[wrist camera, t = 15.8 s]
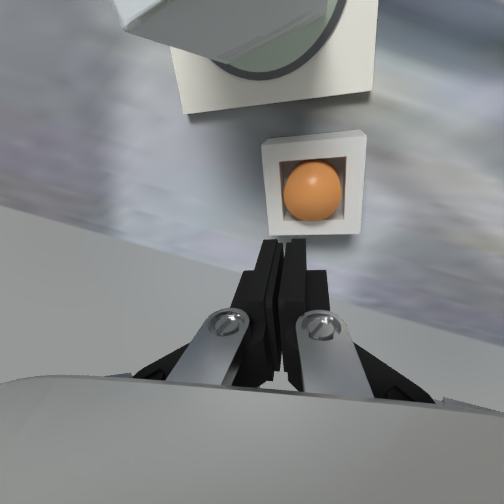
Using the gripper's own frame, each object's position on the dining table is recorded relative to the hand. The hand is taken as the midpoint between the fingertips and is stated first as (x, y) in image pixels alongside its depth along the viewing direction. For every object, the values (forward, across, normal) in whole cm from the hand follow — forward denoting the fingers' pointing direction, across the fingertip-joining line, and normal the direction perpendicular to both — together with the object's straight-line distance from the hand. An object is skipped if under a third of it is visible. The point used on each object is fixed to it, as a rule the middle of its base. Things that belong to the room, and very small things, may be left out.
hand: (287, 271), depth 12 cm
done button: (+13, -1, 0) cm, 13 cm away
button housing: (+14, -1, 0) cm, 14 cm away
